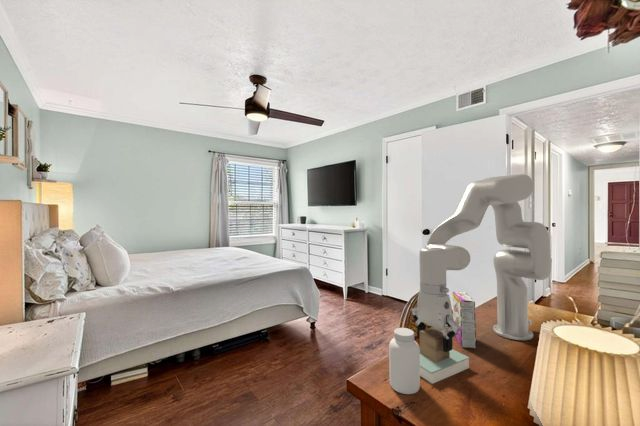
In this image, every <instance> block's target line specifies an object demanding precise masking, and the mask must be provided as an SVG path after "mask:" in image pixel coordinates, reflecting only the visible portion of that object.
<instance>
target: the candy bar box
mask: <svg viewBox="0 0 640 426" xmlns="http://www.w3.org/2000/svg"><path fill="white" fill-rule="evenodd" d="M452 314H453V320H454V321H455V322H456V323H457V324H458V325H459V326H460V329H459V331H458V334H457V335H455V336H454V337H455V338H456V340H457V342H458V343H459V345H460V347H461V348H464V349H477V333H476V332H477V327H476V301H475V300H474V299H473V298H472V297H471V295H469V294H468V293H467V292H466V291H452Z"/></svg>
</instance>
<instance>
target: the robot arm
mask: <svg viewBox="0 0 640 426" xmlns="http://www.w3.org/2000/svg"><path fill="white" fill-rule="evenodd" d="M534 188H535V185H534V181H533V179H532V178H531V176H530V175H527V174H523V173H520V174H510V175H509V174H508V175H500V176H492V177H487V178H483V179H481V180H474V181H473V182H470V183H469V184H468V185H467V186H466V188H465V191H464V193H463V194H462V195H461V198H460V200H459V202H458V205H457V206H456V209H455V211H454V213H453V214H452V215H451V216H450V217H449V218H447V219H445V220H444V221H443V222H442V223H440V224H439V225H437V227H435V228H434V229H433V231H432V232H431V233H430V235H429V236H428V239H427V241H426V243H425V245H424V246H423V247H422V248H421V249H420V250H419V257H418V258H419V290H418V295H417V303H416V304H417V305H416V307H412V308H411V309H410V310H411V314H412V315H413V316H412V318H413V319H414V321H415V326H416V327H417V328H416V329H417V331H416V332H417V339H419V340H420V333H419V331H421V330H424V329H427V326H429V327H434V328H437V329H439V330H441V331H442V333H443V335H444V337H445V338H443V351H444V352H448V351H450V350H452V349H453V338H454V337H455V335H457V334H458V331H459V329H460V326H459V325H458V324H457V323H456V322H455V321H454V320H453V305H452V302H451V297H450V294H448V293H449V292H450V289H449V288H448V287H447V271H461V270H465V269H466V268H467V267H468V266H469V265H470V262H471V254H470V252H469V251H468V250H467V249H466V248H464V247H463V246H460V245H459V246H458V245H452V244H447V242H448V241H450V240H451V239H453V238H454V237H456V236H459V235H461V234H464V233H467V232H468V233H469V232H470V231H473V230H475V229H477V228H479V226H480V225H481V223H482V221H483V218H484V217H485V214H486V212H487V210H488V208H489V206H491V207H492V209H493V213H494V222H495V224H494V225H495V234H496V240H497V241H496V242H498V244H499V245H501V246H502V247H504V246H505V247H510V248H519V249H526V250H528V251H526V250H517V249H507V248H506V249H501V250H498V251H497V252H495V254H494V256H493V261H492V262H493V267H494V270H495V275H496V276H495V277H496V299H497V300H496V304H497V306H496V309H497V313H496V314H497V316H496V317H497V324H494V325H493V326H492V330H493V332H494V333H495V334H496V335H499V336H500V337H503V338H506V339H510V340H514V341H530V340H532V339H533V338H534V333H533V332H532V330H529V326H531V325H533V321H532V320H531V319H528V318H529V317H528V315H529V313H528V312H529V310H528V309H529V308H528V306H529V305H528V287H527V285H526V283H525V281H524V279H530V280H535V281H544V280H546V279H548V278H549V277H550V275H551V272H552V258H551V242H550V233H549V230H548V229H547V227H546V225H544V224H543V223H541V222H538V221H524V220H523V215H522V212H523V211H522V207H521V205H520V203H519V202H521V201H523V200H524V201H525V200H527V199H528V198H530V197H531V195H532V194H533V192H534ZM523 278H524V279H523ZM426 325H427V326H426Z"/></svg>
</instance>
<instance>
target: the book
mask: <svg viewBox="0 0 640 426" xmlns="http://www.w3.org/2000/svg"><path fill="white" fill-rule="evenodd" d="M419 348H420V346H419ZM469 362H470V356H468V355H465V354H463V353H462V352H459V351H457V350H455V349H453V348H452V350H450V357H449V358H446V359H444V360H441V361H438V362H434V361H432V360H431V359H429V358H427V357H425V356H424V355H422V354H420V378H422V379H424V380H425V381H426V382H427V383H429V384H430V385H434V384H436V383H438V382H440V381H442V380H445V379H447V378H449V377H452V376H454V375H456V374H458V373H461V372H464V371H465V370H466V371H467V369H470V363H469Z"/></svg>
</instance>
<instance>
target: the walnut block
mask: <svg viewBox="0 0 640 426" xmlns="http://www.w3.org/2000/svg"><path fill="white" fill-rule="evenodd" d="M419 333H420V339H419V347H420V354H422V355H424V356H425V357H427V358H429V359H431V360H432V361H434V362H438V361H441V360H444V359H446V358H449V357H450V351H448V352H444V351H443V338H445V337H444V335H443V333H442V331H441V330H439V329H437V328H434V327H432V326H430V327H428V328H427V327H426V329H424V330H421V331H419Z"/></svg>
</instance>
